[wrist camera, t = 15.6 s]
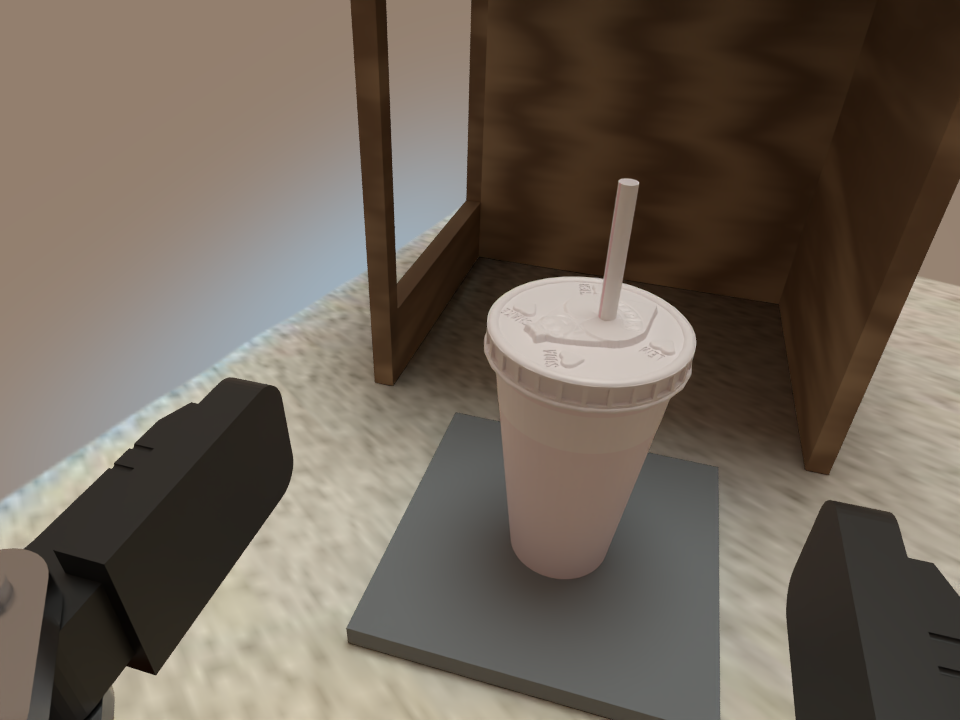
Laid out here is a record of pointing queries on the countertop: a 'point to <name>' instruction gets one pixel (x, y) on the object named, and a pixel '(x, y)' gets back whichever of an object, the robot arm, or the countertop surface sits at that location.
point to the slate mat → (555, 590)
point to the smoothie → (581, 401)
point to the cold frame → (692, 165)
